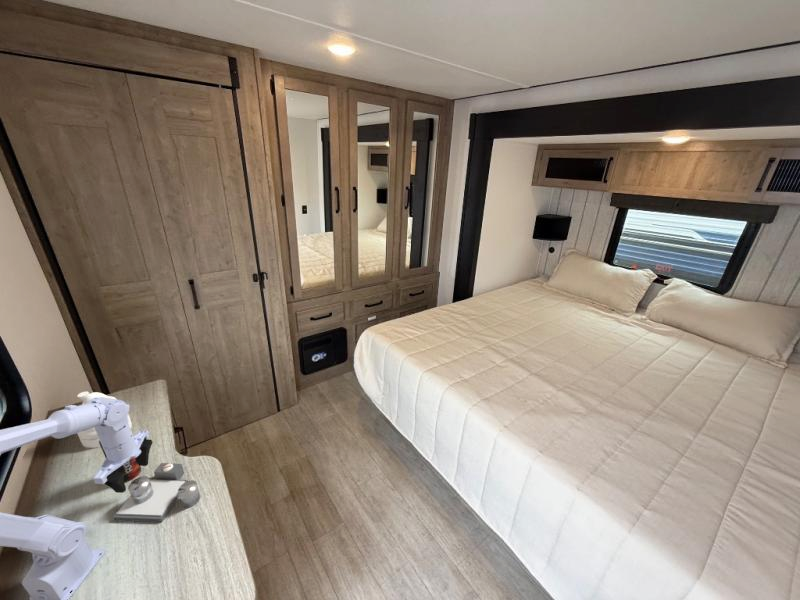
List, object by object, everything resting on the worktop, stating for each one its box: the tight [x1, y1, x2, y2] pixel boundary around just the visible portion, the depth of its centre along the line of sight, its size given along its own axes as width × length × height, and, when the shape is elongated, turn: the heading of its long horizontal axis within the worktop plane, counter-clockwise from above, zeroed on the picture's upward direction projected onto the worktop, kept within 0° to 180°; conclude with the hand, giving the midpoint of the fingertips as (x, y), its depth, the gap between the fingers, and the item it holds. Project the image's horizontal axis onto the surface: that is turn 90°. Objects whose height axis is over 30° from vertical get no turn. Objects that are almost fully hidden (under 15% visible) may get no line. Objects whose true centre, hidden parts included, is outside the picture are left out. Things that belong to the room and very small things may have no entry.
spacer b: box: [178, 480, 201, 509], centre depth 85 cm, size 4×4×5 cm
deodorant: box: [99, 441, 142, 484], centre depth 89 cm, size 6×6×15 cm
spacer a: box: [127, 475, 154, 504], centre depth 84 cm, size 4×4×5 cm
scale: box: [112, 462, 189, 523], centre depth 86 cm, size 14×12×4 cm
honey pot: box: [76, 391, 133, 449], centre depth 102 cm, size 13×13×18 cm
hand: (132, 477), depth 82 cm, fingers open, 7 cm apart
